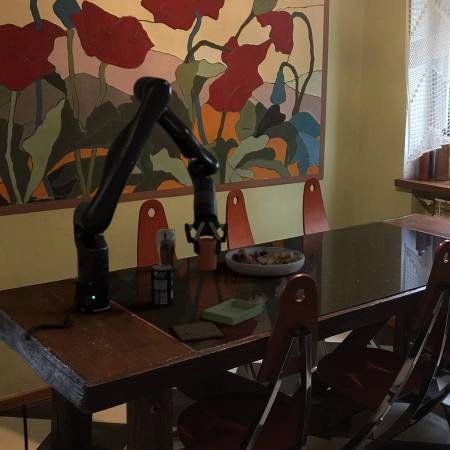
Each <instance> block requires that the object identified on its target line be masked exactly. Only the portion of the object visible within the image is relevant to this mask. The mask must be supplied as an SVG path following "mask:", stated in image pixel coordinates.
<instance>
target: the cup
mask: <svg viewBox="0 0 450 450" xmlns="http://www.w3.org/2000/svg"><path fill="white" fill-rule="evenodd" d="M198 248H199V253H198V255H197V269H198V270H200V271H214V270H216V269H217V255H218V254H217V253H216V250H217V240H216V239H214V238H213V237H200V239H198Z"/></svg>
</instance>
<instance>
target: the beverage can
mask: <svg viewBox="0 0 450 450" xmlns="http://www.w3.org/2000/svg"><path fill="white" fill-rule="evenodd" d="M173 288H174V287H173V271H172V270H171V266H168V265H159V264H157V265H153V266H152V270H151V272H150V289H151V290H150V293H151V296H150V297H151V300H150V301H151V304H152V305H153V306H155V307H168V306H170V305H171V304H172V303H173V301H174V300H173V296H174V295H173V290H174V289H173Z"/></svg>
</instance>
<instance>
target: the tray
mask: <svg viewBox="0 0 450 450" xmlns="http://www.w3.org/2000/svg"><path fill="white" fill-rule="evenodd" d="M261 314H263V304H261V303H256V302H251V301H247V300H242V299H237V298H231V299H228V300H226V301H223V302H220V303H218V304H215V305H213V306H211V307H209V308H206V309H203V310H202V319H203V320H206V321H210V322H215V323H220V324H224V325H228V326H230V327H231V326H232V327H233V326H236V325H238V324H241V323H242V322H243V323H244V322H245V321H247V320H250V319H253V317H256V316H258V315H261Z"/></svg>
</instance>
